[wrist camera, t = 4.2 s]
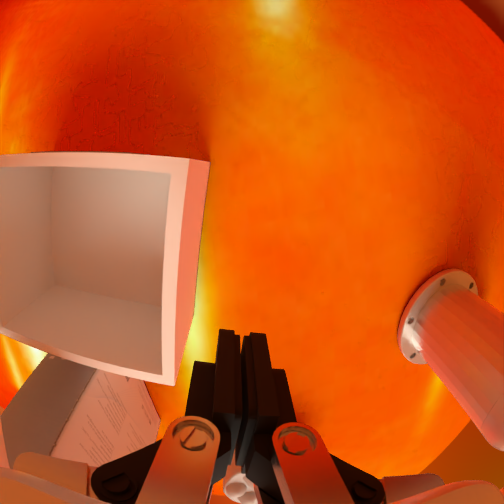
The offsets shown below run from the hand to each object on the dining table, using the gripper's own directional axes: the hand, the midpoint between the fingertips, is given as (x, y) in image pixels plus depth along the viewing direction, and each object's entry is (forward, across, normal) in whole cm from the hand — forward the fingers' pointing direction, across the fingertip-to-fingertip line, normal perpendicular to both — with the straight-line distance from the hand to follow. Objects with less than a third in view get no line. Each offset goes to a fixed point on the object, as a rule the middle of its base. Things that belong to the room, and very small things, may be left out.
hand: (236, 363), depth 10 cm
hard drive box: (+16, +12, +18) cm, 27 cm away
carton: (+15, +11, 0) cm, 19 cm away
